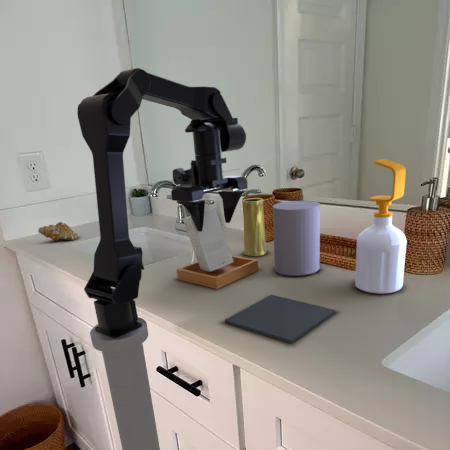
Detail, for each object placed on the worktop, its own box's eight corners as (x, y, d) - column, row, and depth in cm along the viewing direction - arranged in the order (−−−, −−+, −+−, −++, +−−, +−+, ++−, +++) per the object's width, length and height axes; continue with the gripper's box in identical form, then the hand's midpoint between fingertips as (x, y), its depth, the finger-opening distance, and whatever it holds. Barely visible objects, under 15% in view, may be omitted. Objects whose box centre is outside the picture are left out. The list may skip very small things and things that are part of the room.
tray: (217, 289, 92) (216, 278, 91) (177, 279, 100) (176, 269, 99) (258, 270, 102) (258, 260, 101) (219, 262, 110) (218, 253, 109)
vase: (260, 257, 111) (257, 202, 106) (239, 255, 114) (236, 201, 109) (270, 251, 116) (268, 197, 110) (250, 249, 119) (248, 197, 114)
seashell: (63, 252, 143) (41, 229, 138) (55, 252, 150) (34, 230, 145) (82, 235, 147) (62, 211, 142) (74, 235, 153) (54, 213, 148)
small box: (234, 262, 97) (215, 207, 94) (209, 272, 96) (189, 216, 93) (223, 261, 105) (206, 210, 102) (200, 270, 103) (181, 218, 101)
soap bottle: (368, 275, 93) (375, 157, 83) (410, 284, 86) (422, 156, 77) (346, 288, 87) (351, 162, 78) (389, 298, 81) (400, 162, 72)
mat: (291, 343, 67) (291, 340, 67) (224, 322, 76) (224, 319, 76) (334, 312, 77) (335, 309, 76) (271, 297, 86) (271, 294, 85)
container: (297, 260, 107) (296, 199, 101) (328, 269, 99) (330, 203, 93) (265, 269, 101) (263, 206, 96) (296, 280, 94) (295, 211, 88)
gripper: (211, 151, 102) (216, 216, 108) (149, 159, 90) (159, 232, 95) (247, 149, 95) (250, 219, 101) (186, 158, 82) (194, 237, 88)
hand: (214, 226), depth 97 cm, fingers open, 9 cm apart
